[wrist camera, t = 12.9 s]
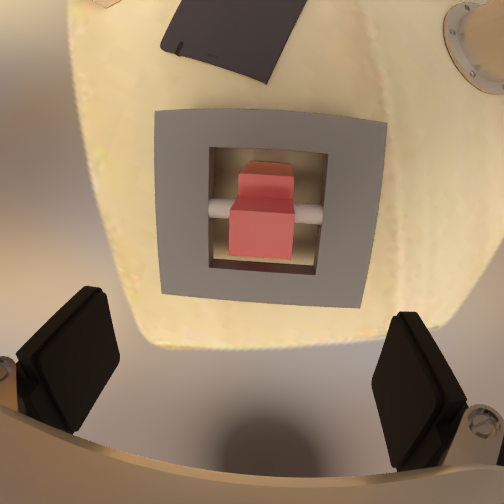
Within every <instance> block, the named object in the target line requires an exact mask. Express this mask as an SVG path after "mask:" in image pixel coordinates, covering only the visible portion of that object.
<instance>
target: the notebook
mask: <svg viewBox="0 0 504 504" xmlns="http://www.w3.org/2000/svg"><path fill="white" fill-rule="evenodd" d="M306 1H307V0H182V1H181V3H180V5H179V6H178V8H177V10H176V12H175V14H174V16H173V18H172V20H171V22H170V24H169V26H168V28H167V30H166V32H165V35H164V37H163V39H162V41H161V44H160V48H161V49H162V50H164V51H166V52H170V53H174V54H176V55H177V56H180V55H182V56H185V57H189V58H193V59H196V60H200V61H203V62H206V63H210V64H213V65H216V66H219V67H222V68H225V69H228V70H231V71H234V72H237V73H240V74H243V75H246V76H248V77H251V78H254V79H257V80H259V81H262V82H265V84H267V82H268V80H269V78H270V76H271V74H272V71H273V69H274V67H275V65H276V63H277V61H278V58H279V56H280V54H281V52H282V50H283V48H284V46H285V44H286V42H287V40H288V37H289V35H290V33H291V31H292V29H293V27H294V25H295V23H296V21H297V19H298V17H299V15H300V13H301V11H302V9H303V7H304V5H305V3H306Z"/></svg>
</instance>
